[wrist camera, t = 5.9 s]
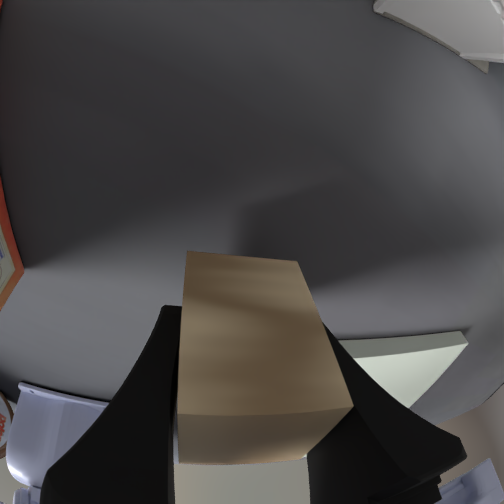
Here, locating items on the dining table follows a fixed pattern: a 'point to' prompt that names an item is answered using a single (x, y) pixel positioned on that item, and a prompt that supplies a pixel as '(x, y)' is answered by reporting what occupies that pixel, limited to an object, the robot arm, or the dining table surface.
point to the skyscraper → (454, 25)
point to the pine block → (253, 363)
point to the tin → (4, 423)
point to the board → (406, 361)
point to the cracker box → (7, 251)
